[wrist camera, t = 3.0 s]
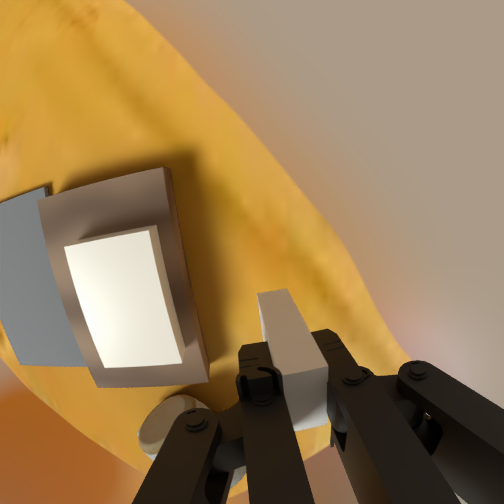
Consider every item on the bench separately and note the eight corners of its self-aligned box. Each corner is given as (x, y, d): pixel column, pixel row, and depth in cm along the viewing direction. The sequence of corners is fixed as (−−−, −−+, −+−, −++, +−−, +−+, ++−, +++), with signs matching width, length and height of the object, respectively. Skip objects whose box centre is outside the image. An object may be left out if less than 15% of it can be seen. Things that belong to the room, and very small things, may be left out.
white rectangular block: (77, 240, 18) (63, 246, 16) (156, 224, 18) (148, 230, 16) (112, 353, 20) (104, 367, 18) (185, 347, 20) (182, 363, 18)
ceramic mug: (194, 375, 24) (185, 441, 16) (251, 422, 26) (257, 483, 18) (122, 416, 25) (103, 471, 17) (177, 455, 27) (171, 508, 19)
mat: (-24, 214, 18) (-28, 215, 18) (47, 186, 19) (43, 186, 18) (23, 361, 22) (20, 364, 22) (97, 362, 23) (95, 366, 22)
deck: (54, 197, 19) (37, 200, 17) (170, 168, 19) (162, 167, 17) (106, 371, 23) (97, 387, 21) (209, 364, 24) (208, 382, 21)
